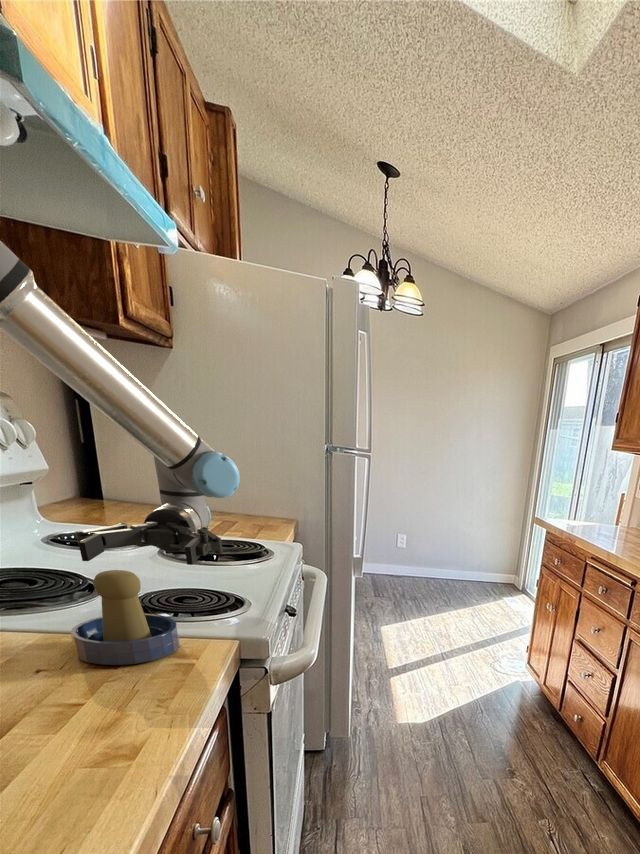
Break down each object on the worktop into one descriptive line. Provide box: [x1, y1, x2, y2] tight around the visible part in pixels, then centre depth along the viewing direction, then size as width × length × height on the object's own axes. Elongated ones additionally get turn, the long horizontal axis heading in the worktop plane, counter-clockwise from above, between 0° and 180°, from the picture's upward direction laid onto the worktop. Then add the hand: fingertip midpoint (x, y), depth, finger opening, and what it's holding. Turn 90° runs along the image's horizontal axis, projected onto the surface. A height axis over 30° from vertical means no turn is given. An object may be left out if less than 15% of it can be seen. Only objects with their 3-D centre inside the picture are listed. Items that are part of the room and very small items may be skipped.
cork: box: [93, 569, 152, 642], centre depth 76 cm, size 6×6×11 cm
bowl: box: [70, 613, 180, 666], centre depth 78 cm, size 12×12×4 cm
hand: (137, 554), depth 82 cm, fingers open, 13 cm apart
